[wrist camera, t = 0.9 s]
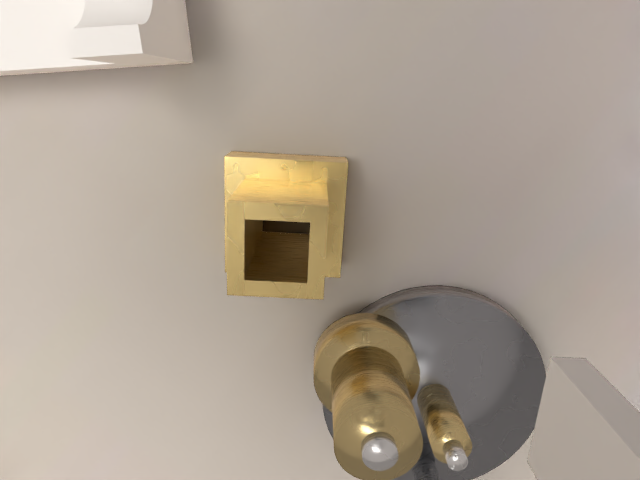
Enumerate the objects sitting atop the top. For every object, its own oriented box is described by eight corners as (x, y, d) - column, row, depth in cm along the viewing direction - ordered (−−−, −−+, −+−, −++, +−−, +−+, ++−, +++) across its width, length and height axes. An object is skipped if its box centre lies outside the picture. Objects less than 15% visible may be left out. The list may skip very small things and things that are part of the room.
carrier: (317, 279, 27) (317, 369, 19) (554, 290, 28) (663, 384, 19) (307, 465, 31) (303, 610, 23) (514, 472, 31) (589, 619, 23)
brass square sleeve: (231, 151, 25) (200, 174, 18) (345, 157, 25) (356, 182, 19) (231, 259, 27) (203, 315, 20) (338, 264, 27) (345, 322, 20)
